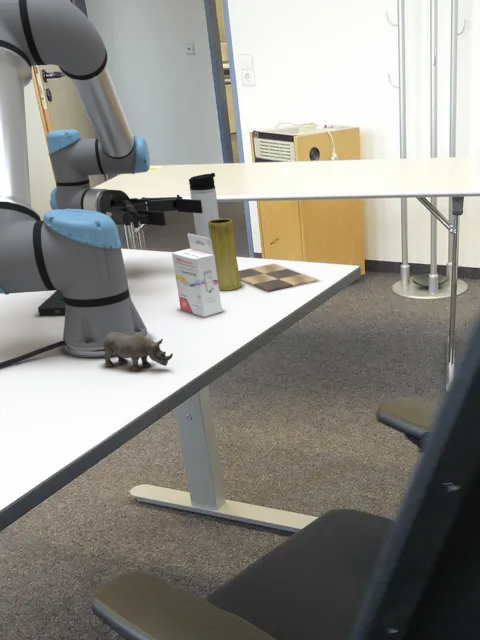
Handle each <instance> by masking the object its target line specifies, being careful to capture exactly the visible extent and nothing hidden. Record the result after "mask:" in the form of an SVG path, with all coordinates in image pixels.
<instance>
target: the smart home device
mask: <svg viewBox="0 0 480 640" xmlns="http://www.w3.org/2000/svg"><path fill="white" fill-rule="evenodd" d="M65 309H66V308H65V302H64V298H63V294H62V292H61V291H60V290H56V291H55V292H53V293H52V294H51V295H50V296H49V297H48V298H47V299H46V300H44V301H43V302H42V303H41V304H40V305H39V306H38V307H37V310H38V311H37V312H38V315H39V317H48V316H51V317H52V316H53V317H54V316H65Z"/></svg>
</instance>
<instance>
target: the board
mask: <svg viewBox="0 0 480 640" xmlns="http://www.w3.org/2000/svg"><path fill="white" fill-rule="evenodd" d="M239 276H240V281H241V282H244V283H246V284H248V285H251V286H253V287H256V288H259V289H261V290H263V291H266V292H268V293H269V292H273V291H278V290H284V289H287V288H292V287H297V286H300V285H305V284H310V283H315V282H317V280H318V279H317V278H314V277H311V276H308V275H306V274H303V273H300V272H298V271H295V270H292V269H289V268H286V267H284V266H281V265H278V264H275V263H271V264H266V265H261V266H256V267H250V268H246V269H242V270H241V269H240V270H239Z"/></svg>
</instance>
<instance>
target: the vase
mask: <svg viewBox="0 0 480 640" xmlns="http://www.w3.org/2000/svg"><path fill="white" fill-rule="evenodd" d="M208 227H209V234H210V239H211V242H212V247H213V252H214V255H215V263H216V270H217V277H218V285H219V291H233V290H234V291H235V290H237V289H240V288H241V287H242V281H241V280H240V276H239V271H240V270H239V263H238V258H237V252H236V251H237V250H236V242H235V233H234V224H233V220H232V219H231V218H219V219H213V220H210V221H208Z"/></svg>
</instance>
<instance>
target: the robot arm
mask: <svg viewBox="0 0 480 640" xmlns="http://www.w3.org/2000/svg"><path fill="white" fill-rule="evenodd" d="M105 45H106V44H105V43H104V40H103V38H102V36H101V34H100V32H99V30H98V29H97V28H96V26H95V25H94V24H93V22H92V21H91V20H90V19H89V17H87V15H86V14H85V13H84V12H83V11H82V10H81V9H80V8H79V7H78V6H76V5H75V4H74V3H73V2H71V1H70V0H0V294H1V295H7V296H8V295H10V294H22V293H36V292H37V293H38V292H54V291H55V292H56V291H57V290H60V291H61V292H62V294H63V298H64V302H65V308H66V309H65V315H64V321H63V333H62V334H63V335H62V337H63V338H62V340H60V341H57V342H54V343H52V344H49V345H46V346H43V347H41V348H37V349H35V350H32V351H30V352H28V353H25V354H22V355H19V356H17V357H13V358H10V359H7V360H3V361H1V362H0V369H1V368H4V367H7V366H10V365H13V364H16V363H20V362H22V361H25V360H28V359H30V358H33V357H35V356H38V355H41V354H43V353H46V352H49V351H52V350H55V349H58V348H60V347H64V349H65V351H66V353H68V354H69V355H71V356H76V357H82V358H105V357H104V354H105V350H104V340H105V337H106V335H107V334H108V333H109V332H119V333H122V334H125V335H129V336H133V335H137V334H139V335H143V336H145V337H147V338H149V334H148V328H147V326H146V325H145V322H144V321H143V319H142V317H141V315H140V314H139V311H138V310H137V308H136V305H135V304H134V301H133V300H132V297H131V294H130V287H129V283H128V276H127V273H126V266H125V261H124V256H123V252H122V251H123V250H122V242H121V240H120V236H119V232H118V229H117V226H128V227H129V226H131V225H132V224H133V228H139V227H140V225H149V226H161V227H164V226H166V225H167V222H166V216H165V212H174V211H176V212H178V213H189V214H190V213H191V214H193V213H203V211H202V204H201V200H191V198H183V196H180V194H176V196H164V197H162V196H161V197H145V196H142V197H141V198H137V197H132V198H131V197H129V196H128V195H129V194H127V193H126V192H125V191H123V190H120V189H108V188H93V187H92V188H91V183H90V178H89V177H90V176H104V175H105V176H106V175H129V174H130V175H135V174H139V173H141V174H142V173H147V172H148V171H149V170H150V166H151V162H150V152H149V148H148V143H147V140H146V139H145V138H144V137H142V136H136V135H133V133H132V129H131V127H130V123H129V121H128V119H127V116H126V114H125V111H124V108H123V106H122V103H121V100H120V99H119V95H118V93H117V90H116V88H115V84H114V82H113V79H112V77H111V75H110V72H109V71H110V70H109V69H108V66H107V65H108V61H109V57H108V52H107V51H108V50H107V49H106V46H105ZM49 65H51V66H58V68H59V70H60V71H61V72H62V74H63V75H64V76H65V77H67V78H69V79H70V82H71V84H72V86H73V88H74V90H75V92H76V95H77V96H78V99H79V101H80V103H81V106H82V107H83V110H84V112H85V115H86V116H87V119H88V120H89V123H90V125H91V127H92V129H93V131H94V133H95V136H96V138H82V136H81V134H80V132H79V130H77V129H57V130H51V131H50V130H49V131H48V132H47V134H46V137H45V138H46V144H47V149H48V156H49V159H50V165H51V168H52V171H53V175H54V179H55V187H54V188H53V189H51V192H50V195H49V197H50V199H49V205H50V209H49V210H47V211H46V212H44V214H43V217H41V215H40V214H39V213H38V211H36V210H35V209H34V208H33V207H32V201H31V200H32V199H31V198H32V197H31V184H30V167H29V151H28V149H29V148H28V136H27V135H28V134H27V119H26V103H25V101H26V100H25V88H26V87H27V86H28V85H29V84H30V83H31V81H32V79H33V69H32V68H33V67H36V66H49ZM41 218H42V219H41ZM114 356H116V355H115V352H114V354H113V355H111V357H114Z"/></svg>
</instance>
